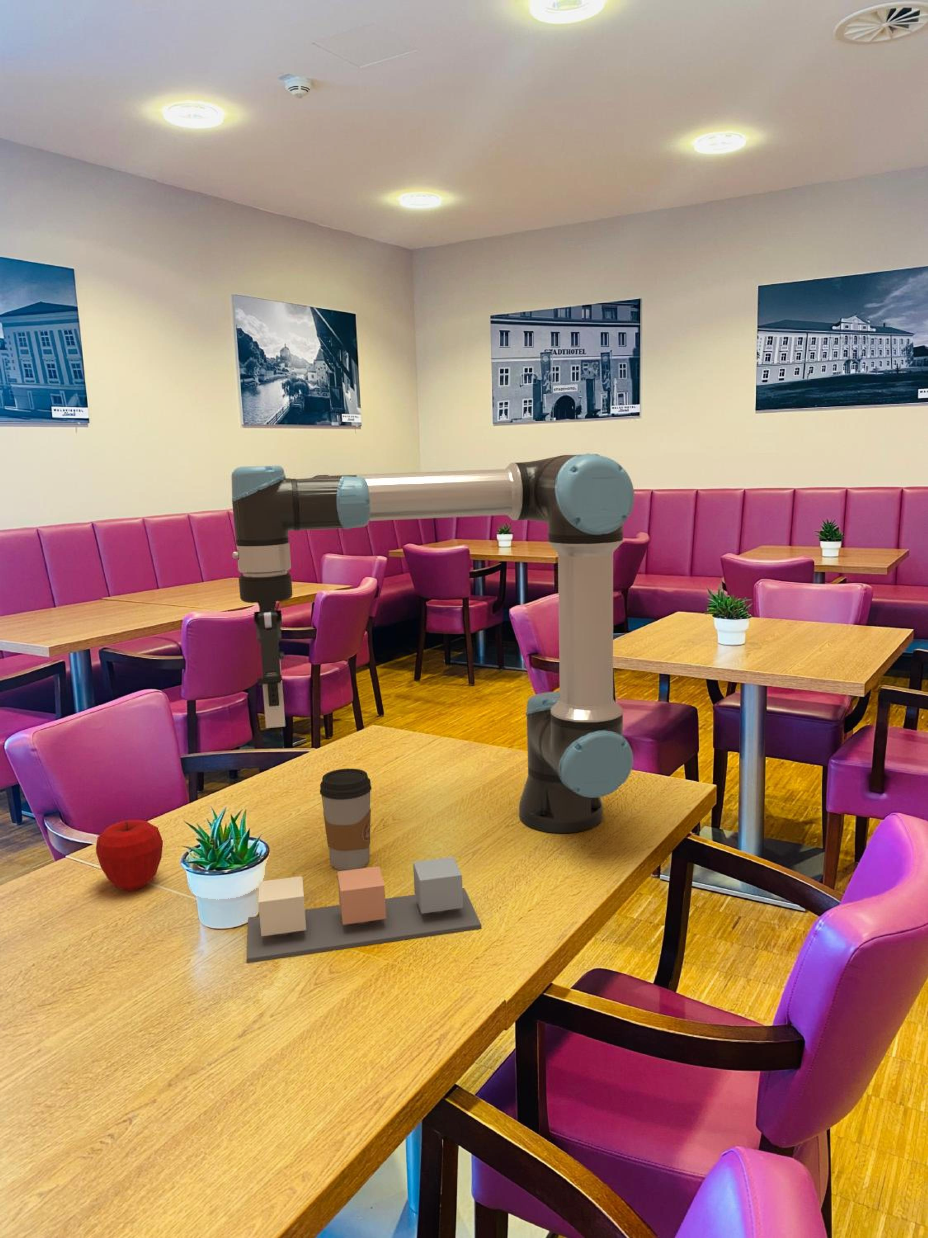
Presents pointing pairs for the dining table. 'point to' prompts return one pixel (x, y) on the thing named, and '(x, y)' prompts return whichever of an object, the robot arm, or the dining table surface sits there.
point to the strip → (358, 929)
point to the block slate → (438, 885)
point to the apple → (130, 853)
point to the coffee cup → (347, 817)
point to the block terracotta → (361, 895)
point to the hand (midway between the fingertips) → (275, 713)
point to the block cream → (281, 906)
